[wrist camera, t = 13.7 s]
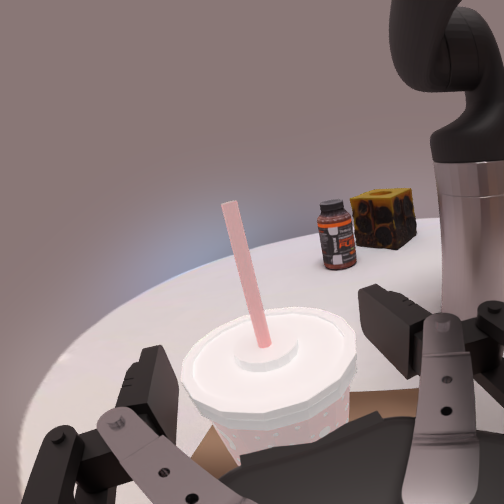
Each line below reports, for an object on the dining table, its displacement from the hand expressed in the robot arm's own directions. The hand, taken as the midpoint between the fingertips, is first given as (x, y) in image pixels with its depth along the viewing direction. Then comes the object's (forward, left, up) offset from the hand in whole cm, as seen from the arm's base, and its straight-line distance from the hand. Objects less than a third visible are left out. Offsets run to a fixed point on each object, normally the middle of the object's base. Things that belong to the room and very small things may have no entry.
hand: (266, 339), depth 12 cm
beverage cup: (+1, +1, -9) cm, 9 cm away
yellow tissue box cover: (-54, +6, -14) cm, 56 cm away
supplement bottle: (-43, -3, -14) cm, 45 cm away
